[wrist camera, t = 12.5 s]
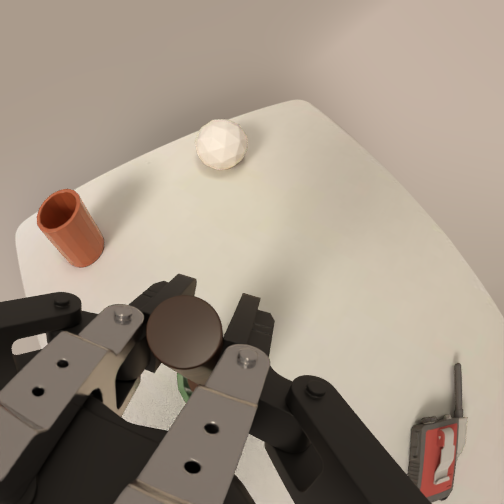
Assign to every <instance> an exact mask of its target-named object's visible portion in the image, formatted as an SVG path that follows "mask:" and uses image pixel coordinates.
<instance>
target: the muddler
mask: <svg viewBox="0 0 504 504" xmlns="http://www.w3.org/2000/svg"><path fill="white" fill-rule="evenodd" d="M146 339H147V343H148V346H149V348H150V350H151V352H152V354H153V355H154V356H155V357H156V358H157V359H158V360H159V361H160V362H161V363H163V364H164V365H166V366H167V367H169V368H171V369H172V370H174V371H176V372H177V373H179V374H181V375H183V376H184V377H186V378H187V379H188V384H189V387H190V389H191V391H192V392H194V390H195V388H196V387H197V386H198V385H199V384H202V385H205V383H206V381H207V380H208V378H209V376H210V375H211V373H212V371H213V370H214V368H215V366H216V365H217V361H218V359H219V357H220V354H221V351H222V346H223V331H222V324H221V320H220V318H219V316H218V314H217V312H216V311H215V309H214V308H213V307H212V306H211V305H210V304H208V303H207V302H206V301H204V300H202V299H200V298H198V297H195V296H190V295H179V296H174V297H171V298H168V299H166V300H165V301H163V302H161V303H160V304H159V305H158V306H157V307H156V308H155V309H154V310H153V312H152V313H151V315H150V317H149V319H148V322H147V326H146Z"/></svg>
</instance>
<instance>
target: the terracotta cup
mask: <svg viewBox="0 0 504 504" xmlns="http://www.w3.org/2000/svg"><path fill="white" fill-rule="evenodd" d="M37 225H38V227H39V228H40V229H41V231H42V232H43V233H44V234H45V236H46V237H47V238H48V239H49V240H50V241H51V243H52V244H53V245H54V246H55V247H56V248H57V249H58V251H59V252H60V253H61V254H62V255H63V256H64V257H65V258H66V259H67V260H68V262H69V263H71V264H72V265H73V266H76V267H86V266H89V265H91V264H92V263H94V262H95V261H96V260H97V259H98V258H99V256H100V255H101V253H102V251H103V248H104V238H103V236H102V234H101V232H100V230H99V228H98V227H97V225H96V224H95V222H94V220H93V219H92V217H91V215H90V214H89V212H88V210H87V208H86V207H85V205H84V203H83V202H82V200H81V198H80V196H79V195H78V194H77V193H76V192H75V191H74V190H70V189H63V190H59V191H57V192H55V193H53V194H52V195H50V196H49V197H48V198H47V199H46V200H45V201H44V202H43V204H42V205H41V207H40V208H39V211H38V214H37Z"/></svg>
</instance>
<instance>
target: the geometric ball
mask: <svg viewBox="0 0 504 504" xmlns="http://www.w3.org/2000/svg"><path fill="white" fill-rule="evenodd" d="M195 145H196V150H197V153H198V155H199V157H200V158H201V160H202V162H203V163H204V165H207V166H209V167H212V168H215V169H217V170H223V169H229V168H231V167H233V166H235V165H236V164H237V163H239V162H240V161H241V160H242V158H243V157H244V155H245V153H246V150H247V148H248V147H247V136H246V134H245V133H244V131H243V130H242V128H241V127H240V125H239V124H237V123H234V122H231V121H228V120H212V121H210V122H209V123H207V124H206V125H205V126H203V127H202V128H201V129H200V131H199V133H198V135H197V138H196V140H195Z"/></svg>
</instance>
